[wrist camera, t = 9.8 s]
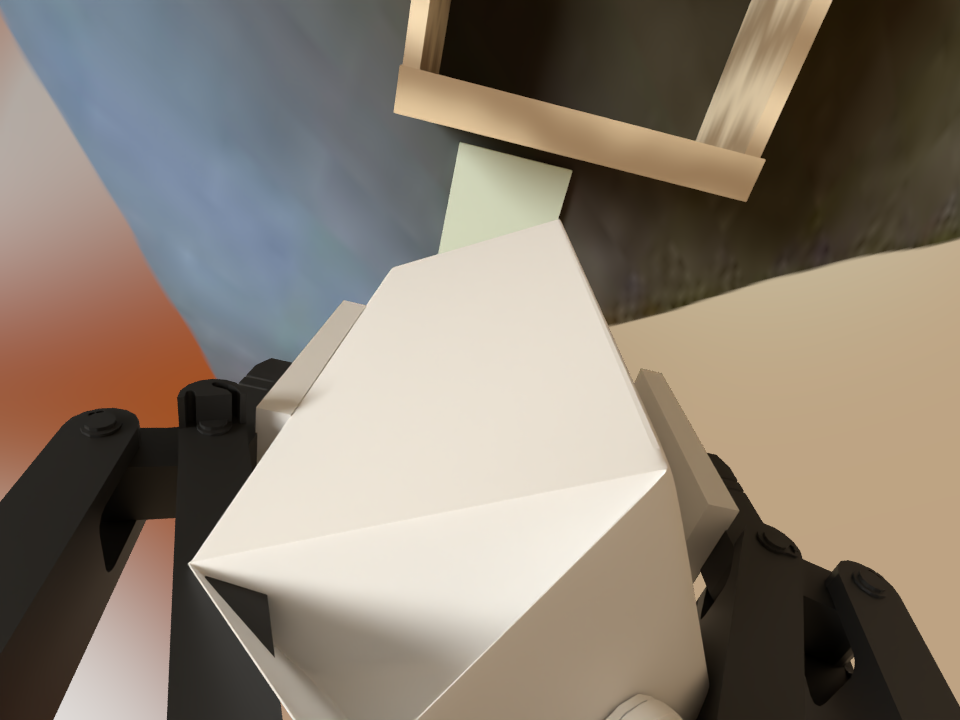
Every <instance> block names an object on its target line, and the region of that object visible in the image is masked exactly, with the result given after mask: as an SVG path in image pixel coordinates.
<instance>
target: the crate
mask: <svg viewBox="0 0 960 720" xmlns="http://www.w3.org/2000/svg"><path fill="white" fill-rule="evenodd" d="M831 2H832V0H751V2H750V5H749V7H748V10H747V13H746V15H745V18H744V20H743V23H742V25H741V28H740V30H739V33H738V35H737V38H736V40H735V43H734V45H733V48H732V50H731V53H730V55H729V58H728V60H727V63H726V65H725V68H724V71H723V73H722V76H721V78H720V81H719V83H718V86H717V88H716V91H715V93H714V96H713V98H712V101H711V103H710V106H709V108H708V111H707V113H706V116H705V118H704V121H703V124H702V126H701V129H700V131H699V134H698V136H697V139H696V141H693V140H689V139H685V138H681V137H677V136H673V135H670V134H666V133H662V132H658V131H654V130H650V129H646V128H643V127H639V126H635V125H631V124H627V123H623V122H620V121H616V120H612V119H608V118H604V117H600V116H596V115H593V114H589V113H585V112H581V111H577V110H573V109H569V108H566V107H562V106H558V105H554V104H550V103H546V102H543V101H539V100H535V99H531V98H527V97H523V96H519V95H516V94H512V93H508V92H504V91H500V90H496V89H493V88H489V87H485V86H481V85H477V84H473V83H469V82H466V81H462V80H458V79H454V78H450V77H446V76H442V75H439V70H440V64H441V58H442V52H443V46H444V40H445V34H446V28H447V22H448V16H449V9H450V3H451V0H411V7H410V15H409V22H408V29H407V37H406V44H405V52H404V59H403V65H400V69H399V76H398V84H397V92H396V99H395V107H394V113H397V114H401V115H405V116H409V117H413V118H417V119H421V120H425V121H429V122H433V123H437V124H441V125H444V126H448V127H452V128H456V129H460V130H464V131H468V132H472V133H476V134H480V135H484V136H488V137H492V138H496V139H500V140H504V141H508V142H512V143H515V144H519V145H523V146H527V147H531V148H535V149H539V150H543V151H547V152H551V153H555V154H559V155H563V156H567V157H571V158H575V159H579V160H582V161H586V162H590V163H594V164H598V165H602V166H606V167H610V168H614V169H618V170H622V171H626V172H630V173H634V174H638V175H642V176H646V177H650V178H653V179H657V180H661V181H665V182H669V183H673V184H677V185H681V186H685V187H689V188H693V189H697V190H701V191H705V192H709V193H713V194H717V195H720V196H724V197H728V198H732V199H736V200H740V201H744V202H746V201H747V199H748V197H749V195H750V193H751V191H752V188H753V186H754V184H755V182H756V180H757V178H758V176H759V173H760V171H761V169H762V167H763V165H764V163H765V161H766V159H762V158H760V157H761V155H762V152H763V150H764V148H765V146H766V144H767V142H768V139H769V137H770V135H771V133H772V131H773V129H774V126H775V124H776V122H777V120H778V118H779V115H780V113H781V111H782V109H783V107H784V105H785V102H786V100H787V98H788V96H789V94H790V91H791V89H792V87H793V85H794V83H795V81H796V78H797V76H798V74H799V72H800V70H801V68H802V65H803V63H804V61H805V59H806V57H807V54H808V52H809V50H810V48H811V46H812V44H813V41H814V39H815V37H816V35H817V33H818V30H819V28H820V26H821V24H822V22H823V20H824V17H825V15H826V13H827V11H828V9H829V7H830V4H831Z"/></svg>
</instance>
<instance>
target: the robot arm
mask: <svg viewBox="0 0 960 720" xmlns="http://www.w3.org/2000/svg"><path fill="white" fill-rule="evenodd" d="M365 307H366V305H362V304H358V303H353V302H349V301H343V302H342V303H341V304H340V305H339V307H338V308H337V309H336V310H335V312H334V313H333V314H332V315H331V316H330V318H329V319H328V320H327V321H326V323H325V324H324V325H323V326H322V327H321V329H320V330H319V331H318V332H317V334H316V335H315V336H314V337H313V338H312V340H311V341H310V342H309V343H308V345H307V346H306V347H305V348H304V349H303V351H302V352H301V353H300V354H299V356H298V357H297V358H296V359H295V360H294V362H293V363H291V362H286V361H282V360H277V359H273V358H271V359H268V360H266V361H264V362H262V363H259V364H257V365H256V366H255V367H254V368H253V369H252V370H251V371H250V372H249V373H248V374H247V376H246V377H244V378H243V379H242V380H241V381H240V382H239V384H237V383H235V382H231V381H228V380H221V379H209V380H201V381H197V382H194V383H192V384H189V385H187V386H186V387H185V388H183V389H182V390H180V392H179V395H178V397H177V400H178V415H179V427H173V428H140V425H139V420H138V418H137V417H136V415H135V414H133V413H131V412H129V411H127V410H123V409H117V408H102V409H95V410H92V411H86V412H83V413H81V414H79V415H77V416H74V417H72V418H71V419H70V420H68V421H67V422H66V423H65V424H64V425H63V426H62V427H61V428H60V430H59V431H58V432H57V433H56V434H55V435H54V437H53V438H52V439H51V440H50V442H49V443H48V444H47V445H46V446H45V448H44V449H43V450H42V451H41V453H40V454H39V455H38V456H37V458H36V459H35V460H34V461H33V462H32V464H31V465H30V466H29V467H28V469H27V470H26V471H25V472H24V473H23V475H22V476H21V477H20V478H19V480H18V481H17V482H16V483H15V484H14V486H13V487H12V488H11V489H10V491H9V492H8V493H7V494H6V495H5V497H4V498H3V499H2V500H1V502H0V720H53V719H54V717H55V715H56V713H57V710H58V708H59V706H60V704H61V702H62V700H63V698H64V696H65V693H66V691H67V689H68V687H69V684H70V683H71V680H72V678H73V676H74V674H75V672H76V670H77V668H78V665H79V663H80V661H81V659H82V657H83V655H84V653H85V650H86V648H87V646H88V644H89V642H90V640H91V638H92V635H93V633H94V631H95V629H96V627H97V624H98V622H99V620H100V618H101V616H102V614H103V612H104V610H105V607H106V605H107V603H108V601H109V599H110V596H111V595H112V592H113V590H114V588H115V586H116V584H117V582H118V579H119V577H120V575H121V573H122V571H123V569H124V567H125V564H126V562H127V560H128V558H129V556H130V554H131V552H132V549H133V547H134V545H135V543H136V541H137V539H138V536H139V534H140V532H141V530H142V528H143V526H144V524H145V521H146V520H148V519H164V518H176V520H175V544H174V567H173V590H172V591H173V592H172V613H171V636H170V660H169V683H168V707H167V720H283V719H282V711H281V705H280V704H281V703H280V700H279V699H278V697H277V696H276V694H275V693H274V691H273V690H272V688H271V687H270V685H269V684H268V682H267V681H266V679H265V678H264V676H263V675H262V673H261V672H260V670H259V669H258V668H257V666H256V665H255V663H254V662H253V660H252V659H251V657H250V656H249V654H248V653H247V651H246V650H245V648H244V647H243V645H242V644H241V642H240V641H239V639H238V638H237V636H236V635H235V634H234V632H233V631H232V629H231V628H230V626H229V625H228V623H227V622H226V620H225V619H224V617H223V616H222V614H221V613H220V611H219V610H218V608H217V607H216V605H215V604H214V603H213V601H212V600H211V598H210V597H209V595H208V594H207V592H206V591H205V589H204V588H203V586H202V585H201V583H200V582H199V580H198V579H197V577H196V576H195V574H194V573H193V571H192V570H191V568H190V567H189V565H188V563H189V562H191V561H192V559H193V558H194V557H195V555H196V554H197V552H198V551H199V549H200V548H201V546H202V545H203V543H204V542H205V541H206V539H207V538H208V536H209V535H210V533H211V532H212V530H213V529H214V527H215V526H216V524H217V523H218V522H219V520H220V519H221V517H222V516H223V514H224V513H225V511H226V510H227V508H228V507H229V505H230V504H231V503H232V501H233V500H234V498H235V497H236V495H237V494H238V492H239V491H240V489H241V488H242V486H243V485H244V484H245V482H246V481H247V479H248V478H249V476H250V475H251V473H252V472H253V470H254V469H255V467H256V466H257V465H258V463H259V462H260V460H261V459H262V457H263V456H264V454H265V453H266V451H267V450H268V448H269V447H270V446H271V444H272V443H273V441H274V440H275V438H276V437H277V435H278V434H279V432H280V431H281V429H282V428H283V427H284V425H285V424H286V422H287V421H288V419H289V418H290V417H291V415H292V414H293V413H294V411H295V410H296V408H297V407H298V405H299V404H300V402H301V401H302V399H303V398H304V396H305V395H306V393H307V392H308V391H309V389H310V388H311V386H312V385H313V383H314V382H315V380H316V379H317V377H318V376H319V374H320V373H321V372H322V370H323V369H324V367H325V366H326V364H327V363H328V361H329V360H330V358H331V357H332V355H333V354H334V353H335V351H336V350H337V348H338V347H339V345H340V344H341V342H342V341H343V339H344V338H345V336H346V335H347V334H348V332H349V331H350V329H351V328H352V326H353V325H354V323H355V322H356V320H357V319H358V317H359V316H360V315H361V313H362V312H363V310H364V309H365ZM634 385H635V387H636V389H637V391H638V393H639V396H640V398H641V400H642V402H643V405H644V407H645V409H646V411H647V414H648V416H649V418H650V420H651V423H652V425H653V427H654V429H655V432H656V434H657V436H658V439H659V441H660V443H661V446H662V448H663V450H664V453H665V455H666V458H667V460H668V463H669V465H670V468H671V472H672V475H673V478H674V482H675V487H676V492H677V497H678V502H679V507H680V512H681V518H682V523H683V529H684V535H685V541H686V547H687V552H688V558H689V564H690V570H691V576H692V582H693V583H694V581H695V580H696V578H697V577H698V575H699V574H700V572H701V574H702V576H703V579H704V581H705V583H706V588H705V589H704V591H703V592H702V594H701V595H700V597H699V598H698V600H697V601H696V606H697V612H698V618H699V625H700V631H701V637H702V643H703V649H704V655H705V661H706V667H707V673H708V679H709V689H708V693H707V695H706V698H705V700H704V703H703V705H702V708H701V710H700V712H699V715H698V717H697V719H696V720H960V706H959V704H958V703H957V701H956V699H955V697H954V695H953V694H952V692H951V690H950V688H949V686H948V684H947V683H946V680H945V679H944V677H943V675H942V673H941V671H940V669H939V668H938V666H937V664H936V662H935V660H934V658H933V657H932V655H931V653H930V651H929V649H928V647H927V645H926V644H925V642H924V640H923V638H922V636H921V635H920V633H919V631H918V629H917V627H916V625H915V623H914V622H913V620H912V618H911V616H910V614H909V612H908V611H907V609H906V607H905V605H904V603H903V602H902V599H901V598H900V596H899V595H898V593H897V592H896V590H895V589H894V588H893V586H891V585H890V584H889V583H888V582H887V581H886V580H885V579H884V578H883V577H882V576H881V575H880V574H878V573H876V572H875V571H874V570H872V569H870V568H868V567H865V566H864V565H862V564H859V563H856V562H853V561H849V560H847V561H841V562H840V563H839V564H838V565H837V567H836V568H835V569H834V570H833V571H832V572H831V571H828V570H826V569H824V568H822V567H819V566H817V565H815V564H812V563H810V562H808V561H806V560H803V559H802V556H801V552H800V550H799V549H798V547H797V546H796V545H795V543H794V542H793V541H792V540H790V539H789V538H788V537H787V536H786V535H785V534H783V533H782V532H780V531H779V530H777V529H775V528H773V527H771V526H769V525H766V524H764V523H763V522H762V520H761V519H760V517H759V515H758V514H757V512H756V510H755V509H754V507H753V505H752V504H751V502H750V500H749V499H748V497H747V495H746V494H745V493H743V489H742V487H741V486H740V484H739V483H738V482H737V479H736V477H735V476H734V474H733V472H732V471H731V469H730V467H728V466H727V465H726V464H725V463H724V462H723V461H722V460H721V459H720V458H719V457H718V456H717V455H714V454H710V453H707V452H706V451H705V449H704V447H703V445H702V444H701V442H700V440H699V438H698V437H697V435H696V433H695V431H694V429H693V428H692V426H691V424H690V422H689V421H688V419H687V417H686V415H685V414H684V412H683V410H682V408H681V406H680V405H679V403H678V401H677V399H676V398H675V396H674V394H673V392H672V391H671V389H670V387H669V385H668V383H667V382H666V380H665V378H664V376H663V375H662V373H659V372H654V371H650V370H645V369H640V372H639V374H638V376H637V379H636V381H635V383H634ZM205 578H206V579H207V581H208V582H209V583H210V584H211V585H212V587H213V588H214V589H215V590H216V591H217V592H218V594H219V595H220V596H221V597H222V598H223V599H224V600H225V602H226V603H227V604H228V605H229V606H230V607H231V608H232V610H233V611H234V612H235V613H236V614H237V615H238V616H239V618H240V619H241V620H242V621H243V622H244V623H245V624H246V626H247V627H248V628H249V629H250V630H251V631H252V632H253V634H254V635H255V636H256V637H257V638H258V639H259V640H260V642H261V643H262V644H263V645H264V646H265V647H266V648H267V650H268V651H269V652H270V653H271V654H272V655H273V656H274V658H275V654H274V646H273V638H272V630H271V621H270V613H269V605H268V597H267V595H266V594H263V593H260V592H257V591H254V590H250V589H247V588H244V587H241V586H237V585H234V584H231V583H228V582H225V581H221V580H218V579H215V578H212V577H208V576H205ZM853 657H854V659H855V667H854V669H853V667H852V664H851V662H850V660H851V659H852V658H853Z"/></svg>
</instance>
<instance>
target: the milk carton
mask: <svg viewBox="0 0 960 720" xmlns="http://www.w3.org/2000/svg"><path fill="white" fill-rule="evenodd" d="M188 565H189V567H190V568H191V570H192V571H193V573H194V574H195V576H196V577H197V579H198V580H199V582H200V583H201V585H202V586H203V588H204V589H205V591H206V592H207V594H208V595H209V597H210V598H211V600H212V601H213V603H214V604H215V605H216V607H217V608H218V610H219V611H220V613H221V614H222V616H223V617H224V619H225V620H226V622H227V623H228V625H229V626H230V628H231V629H232V631H233V632H234V634H235V635H236V636H237V638H238V639H239V641H240V642H241V644H242V645H243V647H244V648H245V650H246V651H247V653H248V654H249V656H250V657H251V659H252V660H253V662H254V663H255V665H256V666H257V668H258V669H259V670H260V672H261V673H262V675H263V676H264V678H265V679H266V681H267V682H268V684H269V685H270V687H271V688H272V690H273V691H274V693H275V694H276V696H277V697H278V699H279V700H280V701H281V703H282V704H283V706H284V707H285V709H286V710H287V712H288V713H289V715H290V716H291V718H292V719H293V720H696V719H697V717H698V715H699V712H700V710H701V708H702V705H703V703H704V700H705V698H706V695H707V693H708V689H709V679H708V673H707V667H706V661H705V655H704V649H703V643H702V637H701V631H700V625H699V618H698V612H697V606H696V600H695V594H694V588H693V582H692V576H691V570H690V564H689V558H688V552H687V547H686V541H685V535H684V529H683V523H682V518H681V512H680V507H679V502H678V497H677V492H676V487H675V482H674V478H673V475H672V472H671V468H670V465H669V463H668V460H667V458H666V455H665V453H664V450H663V448H662V446H661V443H660V441H659V439H658V436H657V434H656V432H655V429H654V427H653V425H652V423H651V420H650V418H649V416H648V414H647V411H646V409H645V407H644V405H643V402H642V400H641V398H640V396H639V393H638V391H637V389H636V387H635V385H634V382H633V380H632V378H631V376H630V373H629V371H628V369H627V367H626V365H625V362H624V360H623V358H622V356H621V354H620V351H619V349H618V347H617V345H616V342H615V340H614V338H613V336H612V334H611V331H610V329H609V327H608V324H607V322H606V320H605V318H604V316H603V313H602V311H601V309H600V307H599V304H598V302H597V300H596V298H595V296H594V293H593V291H592V289H591V287H590V284H589V282H588V280H587V278H586V276H585V273H584V271H583V269H582V267H581V264H580V262H579V260H578V258H577V255H576V253H575V251H574V249H573V247H572V244H571V242H570V240H569V238H568V235H567V233H566V231H565V229H564V227H563V224H562V222H561V220H559V219H558V220H554V221H550V222H547V223H543V224H540V225H537V226H533V227H530V228H526V229H523V230H520V231H516V232H513V233H509V234H506V235H502V236H499V237H496V238H492V239H489V240H485V241H482V242H479V243H475V244H472V245H468V246H465V247H461V248H458V249H455V250H451V251H448V252H444V253H441V254H438V255H434V256H431V257H427V258H424V259H420V260H417V261H414V262H410V263H407V264H403V265H400V266H397V267H394V268H392V269H391V270H390V272H389V273H388V275H387V276H386V277H385V279H384V280H383V282H382V283H381V285H380V286H379V288H378V289H377V291H376V292H375V294H374V295H373V296H372V298H371V299H370V301H369V302H368V304H367V305H366V307H365V309H364V310H363V312H362V313H361V315H360V316H359V317H358V319H357V320H356V322H355V323H354V325H353V326H352V328H351V329H350V331H349V332H348V334H347V335H346V336H345V338H344V339H343V341H342V342H341V344H340V345H339V347H338V348H337V350H336V351H335V353H334V354H333V355H332V357H331V358H330V360H329V361H328V363H327V364H326V366H325V367H324V369H323V370H322V372H321V373H320V374H319V376H318V377H317V379H316V380H315V382H314V383H313V385H312V386H311V388H310V389H309V391H308V392H307V393H306V395H305V396H304V398H303V399H302V401H301V402H300V404H299V405H298V407H297V408H296V410H295V411H294V413H293V414H292V415H291V417H290V418H289V419H288V421H287V422H286V424H285V425H284V427H283V428H282V429H281V431H280V432H279V434H278V435H277V437H276V438H275V440H274V441H273V443H272V444H271V446H270V447H269V448H268V450H267V451H266V453H265V454H264V456H263V457H262V459H261V460H260V462H259V463H258V465H257V466H256V467H255V469H254V470H253V472H252V473H251V475H250V476H249V478H248V479H247V481H246V482H245V484H244V485H243V486H242V488H241V489H240V491H239V492H238V494H237V495H236V497H235V498H234V500H233V501H232V503H231V504H230V505H229V507H228V508H227V510H226V511H225V513H224V514H223V516H222V517H221V519H220V520H219V522H218V523H217V524H216V526H215V527H214V529H213V530H212V532H211V533H210V535H209V536H208V538H207V539H206V541H205V542H204V543H203V545H202V546H201V548H200V549H199V551H198V552H197V554H196V555H195V557H194V558H193V559H192V561H191V562H189V563H188ZM205 576H208V577H212V578H215V579H218V580H221V581H225V582H228V583H231V584H234V585H237V586H241V587H244V588H247V589H250V590H254V591H257V592H260V593H263V594H266V595H267V597H268V605H269V613H270V621H271V630H272V638H273V646H274V654H275V658H274V656H273V655H272V654H271V653H270V652H269V651H268V650H267V648H266V647H265V646H264V645H263V644H262V643H261V642H260V640H259V639H258V638H257V637H256V636H255V635H254V634H253V632H252V631H251V630H250V629H249V628H248V627H247V626H246V624H245V623H244V622H243V621H242V620H241V619H240V618H239V616H238V615H237V614H236V613H235V612H234V611H233V610H232V608H231V607H230V606H229V605H228V604H227V603H226V602H225V600H224V599H223V598H222V597H221V596H220V595H219V594H218V592H217V591H216V590H215V589H214V588H213V587H212V585H211V584H210V583H209V582H208V581H207V579H206V578H205Z"/></svg>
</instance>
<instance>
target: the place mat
mask: <svg viewBox="0 0 960 720" xmlns="http://www.w3.org/2000/svg"><path fill="white" fill-rule="evenodd" d="M571 174H572V170H570V169H566V168H562V167H558V166H554V165H550V164H546V163H542V162H539V161H535V160H531V159H527V158H523V157H519V156H515V155H511V154H507V153H503V152H499V151H495V150H491V149H487V148H483V147H479V146H475V145H471V144H467V143H463V142H460V144H459V149H458V154H457V160H456V165H455V170H454V175H453V180H452V186H451V191H450V196H449V201H448V206H447V212H446V217H445V222H444V227H443V232H442V238H441V243H440V248H439V253H438V254H441V253H444V252H448V251H451V250H455V249H458V248H461V247H465V246H468V245H472V244H475V243H479V242H482V241H485V240H489V239H492V238H496V237H499V236H502V235H506V234H509V233H513V232H516V231H520V230H523V229H526V228H530V227H533V226H537V225H540V224H543V223H547V222H550V221H554V220H558V218H559V215H560V211H561V208H562V205H563V201H564V198H565V195H566V191H567V188H568V184H569V181H570V178H571Z"/></svg>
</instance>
